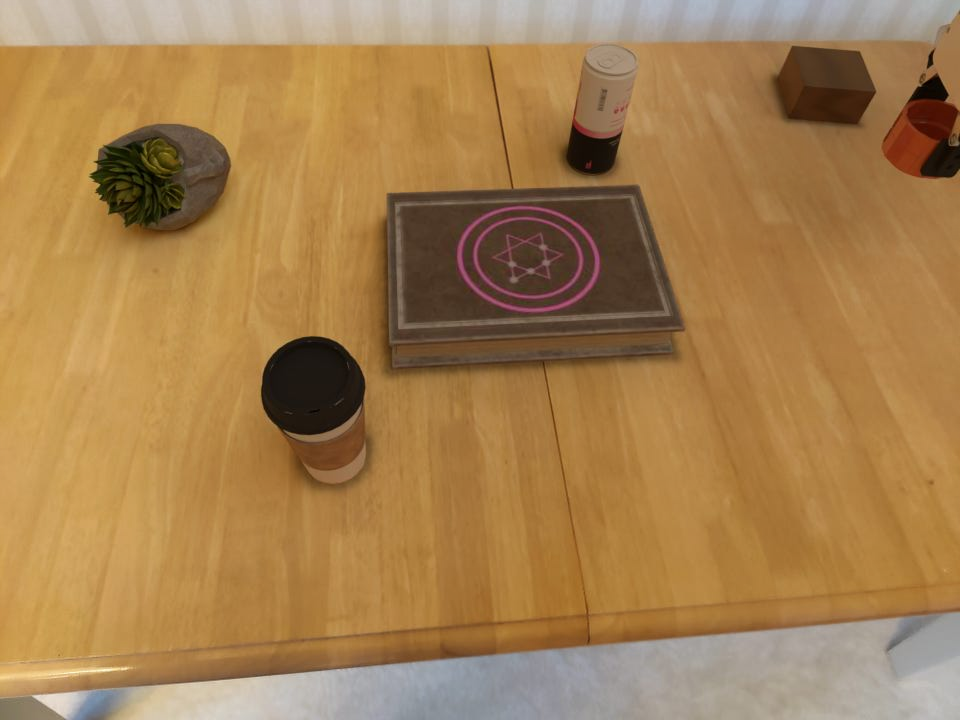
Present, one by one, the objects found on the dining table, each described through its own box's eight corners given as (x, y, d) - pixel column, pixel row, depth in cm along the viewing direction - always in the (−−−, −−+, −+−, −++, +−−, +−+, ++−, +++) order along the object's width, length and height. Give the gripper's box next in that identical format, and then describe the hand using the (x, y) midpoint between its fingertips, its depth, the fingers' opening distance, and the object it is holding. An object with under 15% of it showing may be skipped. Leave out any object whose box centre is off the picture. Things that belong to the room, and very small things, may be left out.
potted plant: (257, 170, 82) (192, 228, 71) (196, 217, 89) (128, 276, 77) (182, 84, 77) (100, 131, 66) (124, 140, 84) (40, 192, 72)
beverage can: (556, 160, 91) (572, 56, 78) (586, 138, 93) (607, 35, 81) (593, 184, 88) (616, 81, 76) (623, 161, 91) (651, 59, 78)
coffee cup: (297, 506, 62) (258, 430, 50) (287, 428, 66) (249, 340, 54) (386, 485, 63) (370, 405, 51) (370, 410, 68) (352, 320, 56)
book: (392, 370, 71) (388, 343, 67) (389, 220, 83) (386, 189, 79) (672, 355, 73) (685, 327, 69) (629, 211, 85) (638, 181, 81)
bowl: (940, 139, 70) (967, 101, 67) (962, 185, 66) (992, 148, 63) (871, 133, 70) (894, 96, 67) (889, 180, 66) (915, 142, 63)
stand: (842, 84, 103) (860, 50, 98) (856, 125, 97) (876, 91, 93) (776, 79, 103) (791, 45, 98) (787, 119, 97) (804, 85, 93)
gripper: (1156, 27, 48) (991, 211, 62) (1056, -84, 57) (934, 98, 72) (1049, 20, 48) (910, 205, 62) (968, -90, 57) (864, 93, 72)
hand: (923, 147), depth 67 cm, fingers closed on bowl, 7 cm apart
